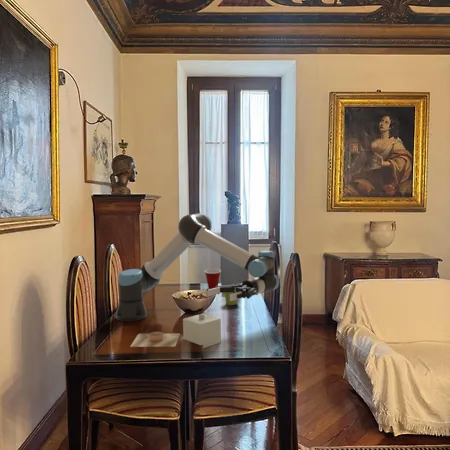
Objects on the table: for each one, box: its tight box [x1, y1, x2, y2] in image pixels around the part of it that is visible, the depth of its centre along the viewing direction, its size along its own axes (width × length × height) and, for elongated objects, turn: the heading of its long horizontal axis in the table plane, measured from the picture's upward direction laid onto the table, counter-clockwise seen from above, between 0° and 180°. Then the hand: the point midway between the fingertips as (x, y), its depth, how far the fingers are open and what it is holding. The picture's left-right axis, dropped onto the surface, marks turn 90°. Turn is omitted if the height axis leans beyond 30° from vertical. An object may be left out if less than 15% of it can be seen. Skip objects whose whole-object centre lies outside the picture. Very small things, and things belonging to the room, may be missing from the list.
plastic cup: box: [203, 268, 222, 290], centre depth 284 cm, size 11×11×12 cm
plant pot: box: [223, 290, 238, 306], centre depth 245 cm, size 9×9×9 cm
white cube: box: [182, 313, 222, 349], centre depth 183 cm, size 11×11×12 cm
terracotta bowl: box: [148, 331, 164, 342], centre depth 182 cm, size 6×6×3 cm
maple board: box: [129, 333, 181, 348], centre depth 183 cm, size 18×16×2 cm
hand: (219, 295), depth 188 cm, fingers open, 13 cm apart
